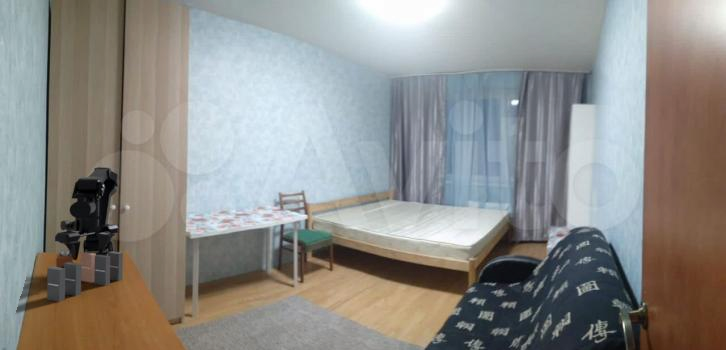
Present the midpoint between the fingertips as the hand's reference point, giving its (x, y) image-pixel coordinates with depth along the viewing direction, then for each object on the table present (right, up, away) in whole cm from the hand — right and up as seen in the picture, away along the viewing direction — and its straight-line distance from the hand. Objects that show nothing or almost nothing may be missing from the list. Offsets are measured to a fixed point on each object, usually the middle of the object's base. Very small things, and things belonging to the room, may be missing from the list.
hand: (88, 256), depth 127 cm
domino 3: (0, -9, 0) cm, 9 cm away
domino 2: (+4, -10, -12) cm, 16 cm away
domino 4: (+6, -9, -2) cm, 11 cm away
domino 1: (+3, -10, -16) cm, 19 cm away
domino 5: (+8, -9, +3) cm, 12 cm away
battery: (-9, -9, +1) cm, 12 cm away
